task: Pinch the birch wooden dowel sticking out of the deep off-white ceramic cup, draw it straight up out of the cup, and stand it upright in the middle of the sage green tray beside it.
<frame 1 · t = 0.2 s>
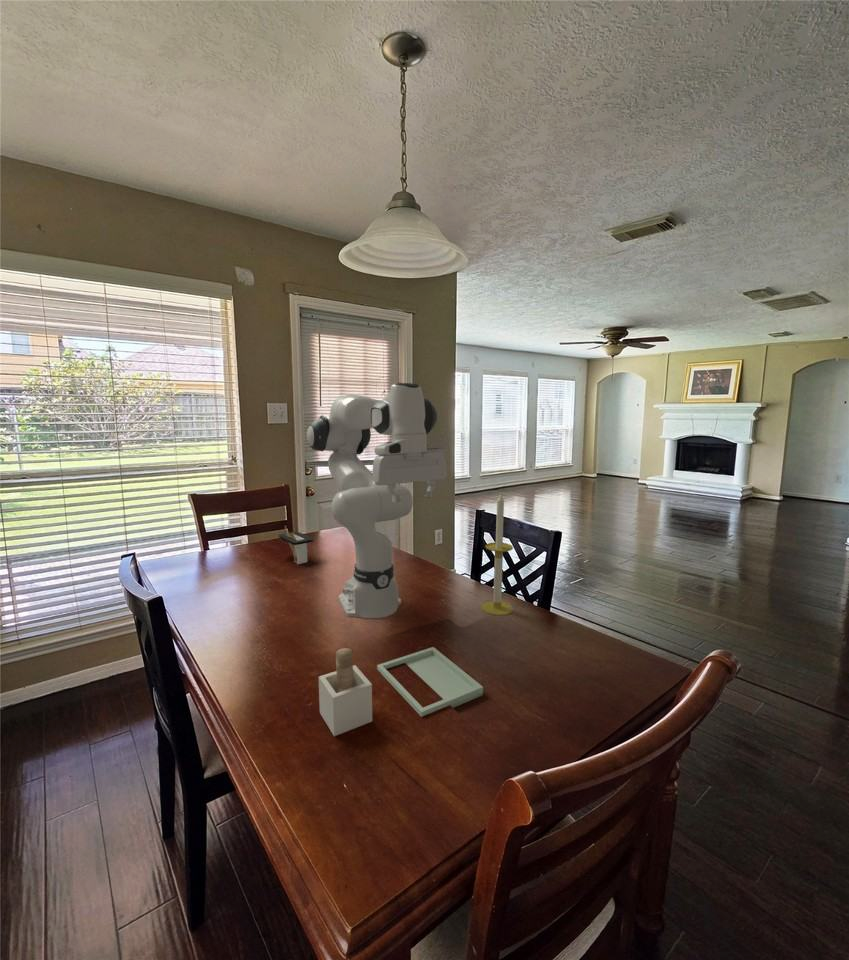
hand: (412, 499, 118), 39 cm above the table, tool pointing down, fingers open, 8 cm apart
cup: (345, 721, 93), on the table
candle: (497, 609, 145), on the table
architectural model: (296, 561, 190), on the table
dowel: (345, 716, 93), point 1 cm above the table, touching cup
tray: (427, 683, 105), on the table
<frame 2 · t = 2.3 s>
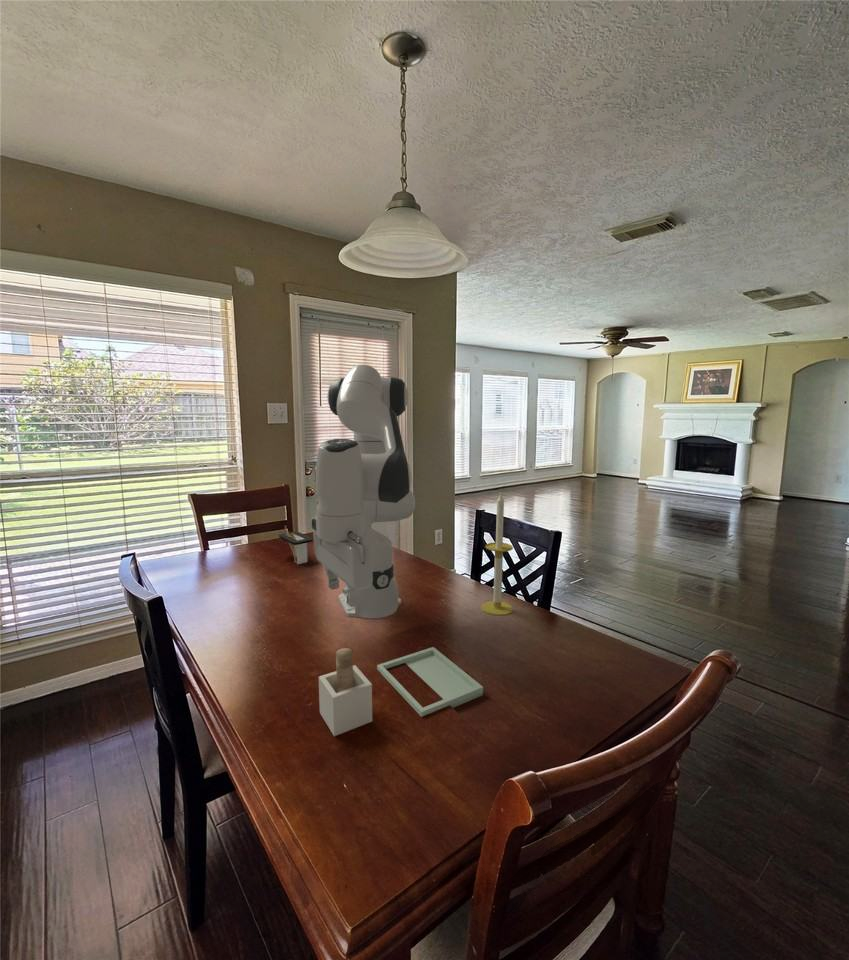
hand: (342, 596, 88), 27 cm above the table, tool pointing down, fingers open, 8 cm apart
nothing on the table moved.
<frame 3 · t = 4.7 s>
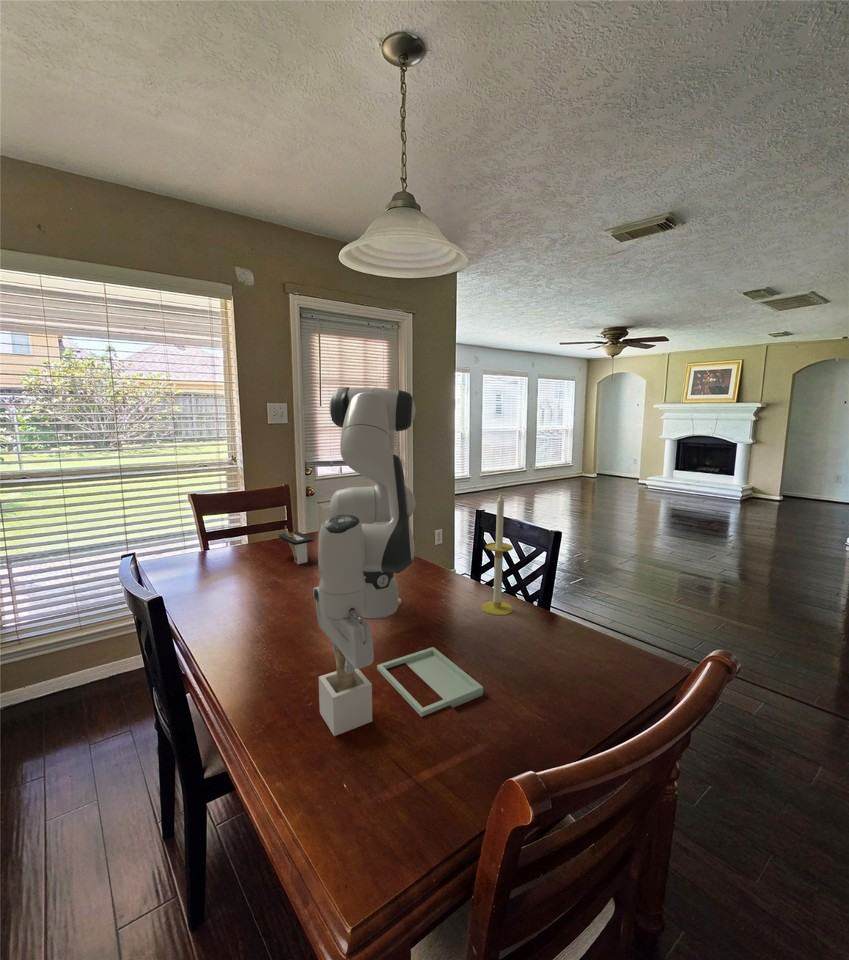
hand: (344, 666, 91), 12 cm above the table, tool pointing down, fingers closed on dowel, 3 cm apart
dowel: (345, 716, 93), point 1 cm above the table, touching cup, gripper
everything else where it was.
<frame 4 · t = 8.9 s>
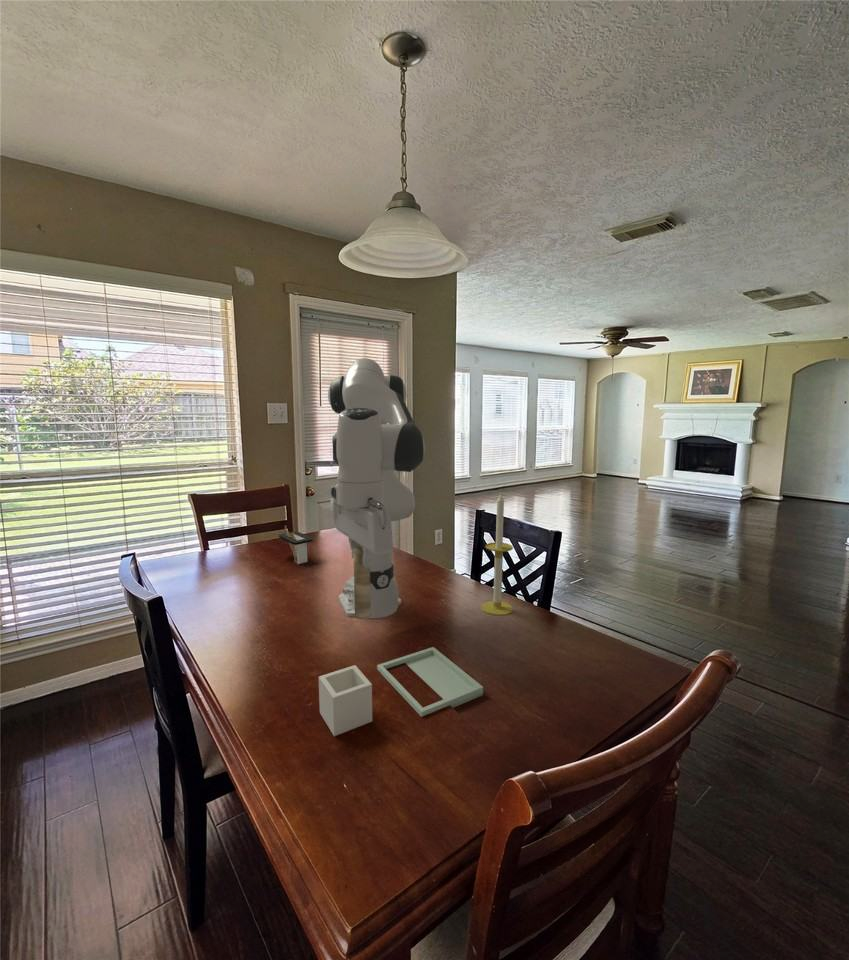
hand: (361, 562, 90), 32 cm above the table, tool pointing down, fingers closed on dowel, 3 cm apart
dowel: (362, 615, 92), point 21 cm above the table, touching gripper
everything else where it was.
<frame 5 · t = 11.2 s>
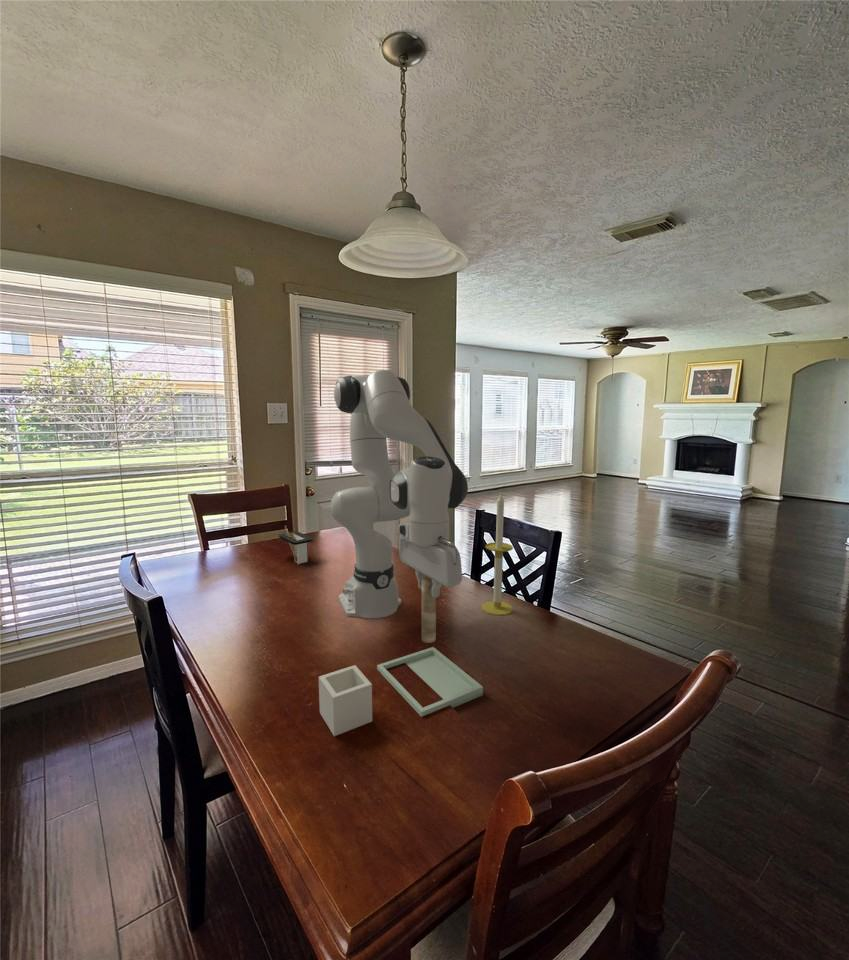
hand: (428, 592, 102), 22 cm above the table, tool pointing down, fingers closed on dowel, 3 cm apart
dowel: (428, 639, 103), point 11 cm above the table, touching gripper
everything else where it was.
when the fingers open (13 cm above the table, at t = 13.1 s): dowel drops 1 cm, resting on tray.
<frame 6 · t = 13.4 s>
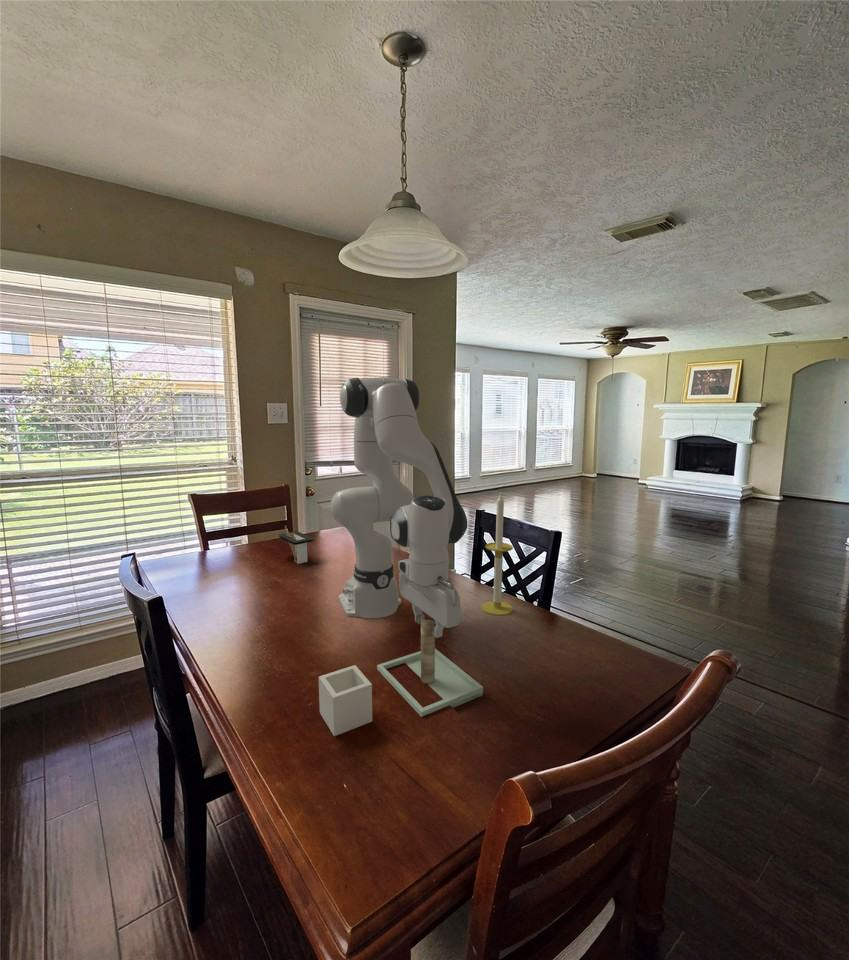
hand: (428, 629, 103), 13 cm above the table, tool pointing down, fingers open, 6 cm apart
dowel: (427, 680, 105), point 1 cm above the table, touching tray
everything else where it was.
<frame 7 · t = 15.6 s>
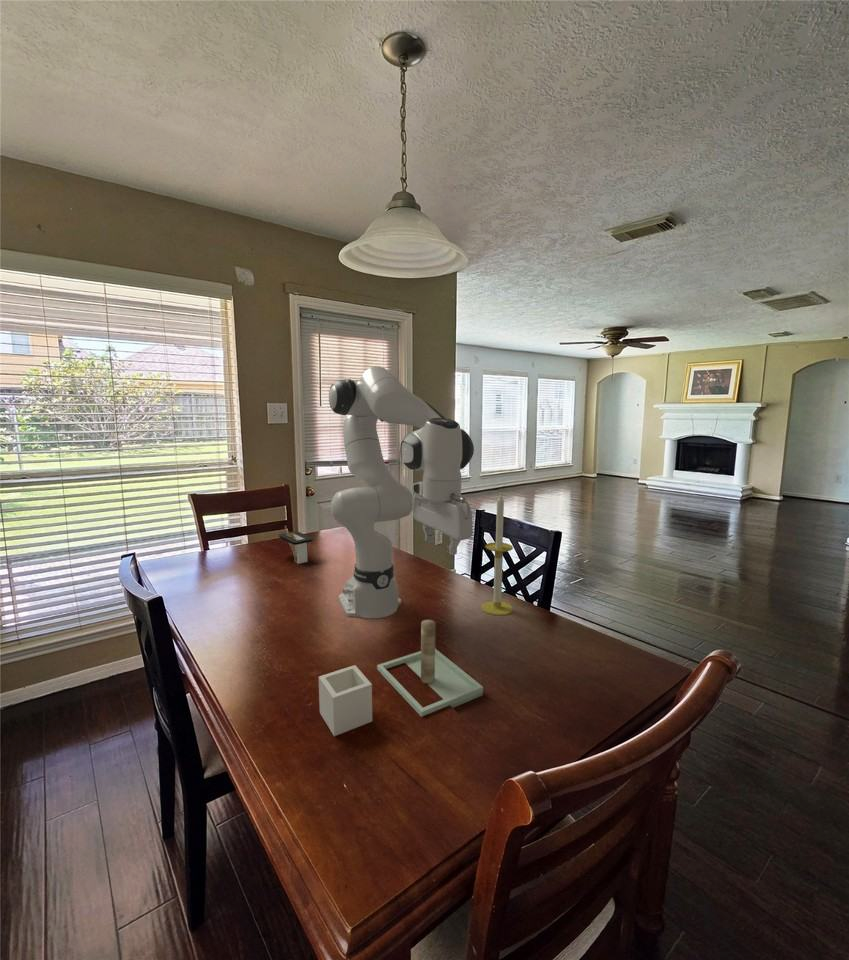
hand: (440, 547, 107), 30 cm above the table, tool pointing down, fingers open, 8 cm apart
nothing on the table moved.
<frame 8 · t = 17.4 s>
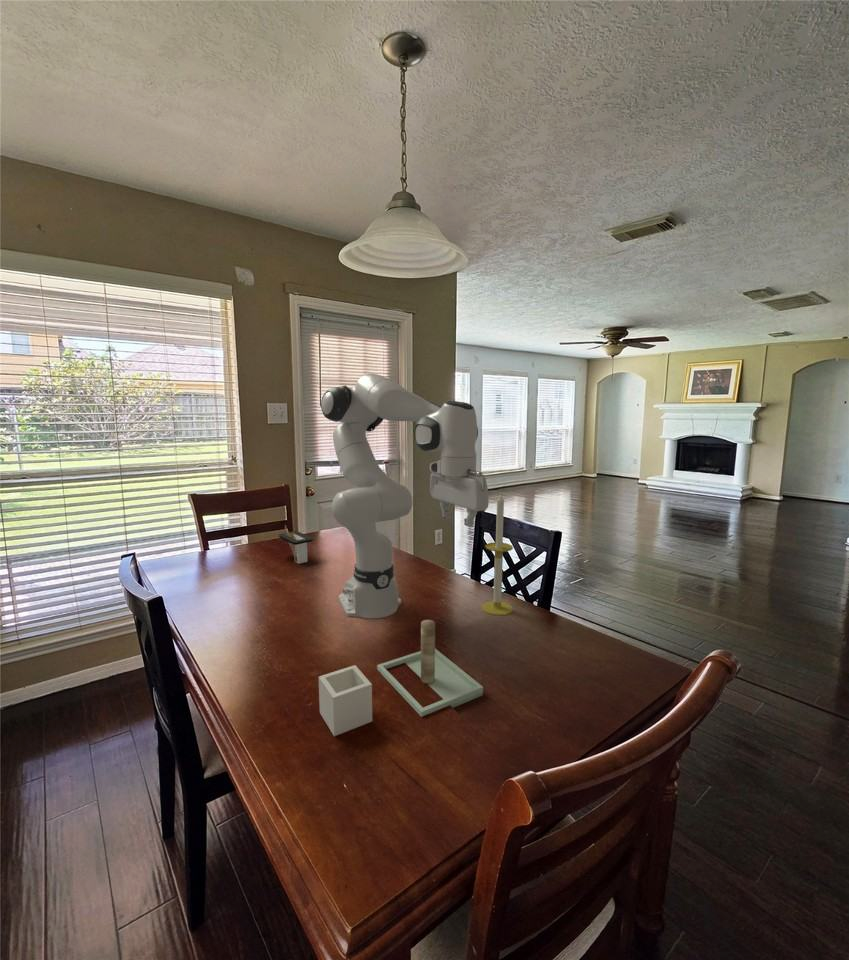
hand: (457, 521, 116), 34 cm above the table, tool pointing down, fingers open, 8 cm apart
nothing on the table moved.
at the end: dowel inside the target area (0.1 cm from its centre), point 0.8 cm above the table; dowel tilted 0°; the gripper is holding nothing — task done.
